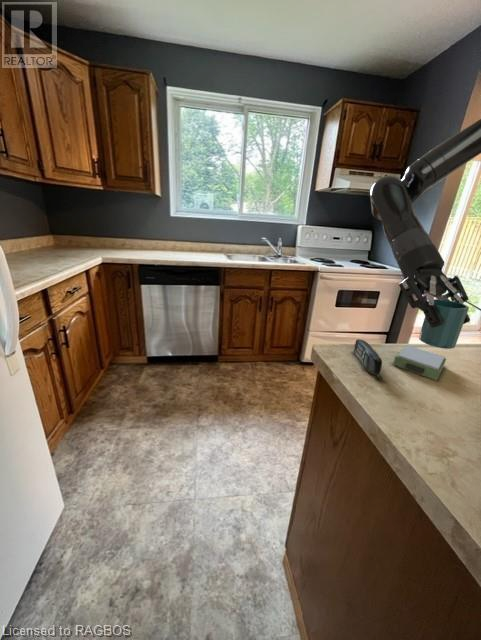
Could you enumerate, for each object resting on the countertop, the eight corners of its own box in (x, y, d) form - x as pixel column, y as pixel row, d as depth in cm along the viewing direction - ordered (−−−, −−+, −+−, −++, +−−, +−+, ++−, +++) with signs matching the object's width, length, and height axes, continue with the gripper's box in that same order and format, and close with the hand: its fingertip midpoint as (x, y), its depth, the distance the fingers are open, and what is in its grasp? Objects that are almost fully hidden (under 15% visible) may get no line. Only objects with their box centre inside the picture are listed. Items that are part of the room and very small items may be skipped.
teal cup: (422, 333, 60) (433, 297, 57) (457, 342, 56) (470, 304, 53) (415, 341, 55) (427, 303, 53) (452, 351, 52) (467, 311, 49)
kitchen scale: (403, 353, 80) (406, 344, 79) (443, 366, 74) (447, 356, 73) (392, 366, 73) (395, 355, 72) (435, 381, 67) (439, 370, 66)
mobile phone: (354, 337, 78) (377, 362, 64) (364, 338, 78) (390, 362, 64) (351, 353, 80) (372, 380, 66) (361, 353, 80) (385, 381, 65)
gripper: (402, 242, 54) (440, 319, 47) (455, 243, 58) (497, 314, 51) (376, 264, 60) (407, 334, 54) (426, 264, 64) (460, 329, 58)
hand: (451, 324), depth 53 cm, fingers closed on teal cup, 6 cm apart
